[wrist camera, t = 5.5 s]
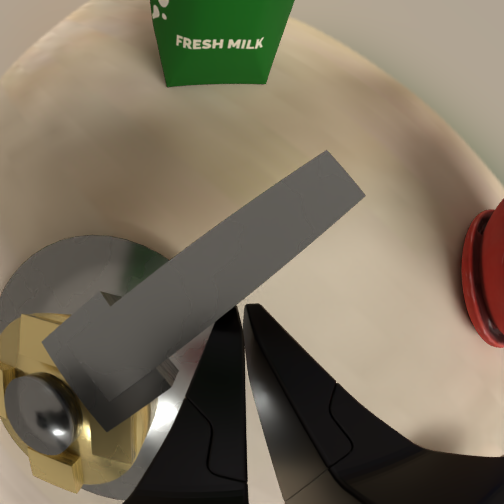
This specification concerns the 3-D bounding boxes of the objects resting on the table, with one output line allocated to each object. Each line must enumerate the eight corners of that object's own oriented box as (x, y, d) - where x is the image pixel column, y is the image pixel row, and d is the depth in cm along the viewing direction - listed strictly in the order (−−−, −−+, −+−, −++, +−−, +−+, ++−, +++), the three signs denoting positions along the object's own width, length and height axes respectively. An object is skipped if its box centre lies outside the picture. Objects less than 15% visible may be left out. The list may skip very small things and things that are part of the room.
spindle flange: (23, 465, 10) (-29, 504, 3) (1, 242, 13) (-68, 207, 6) (246, 494, 12) (272, 569, 5) (235, 238, 15) (259, 181, 9)
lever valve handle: (93, 467, 10) (47, 531, 4) (13, 360, 10) (-66, 372, 4) (332, 285, 14) (415, 263, 8) (244, 177, 14) (271, 93, 8)
